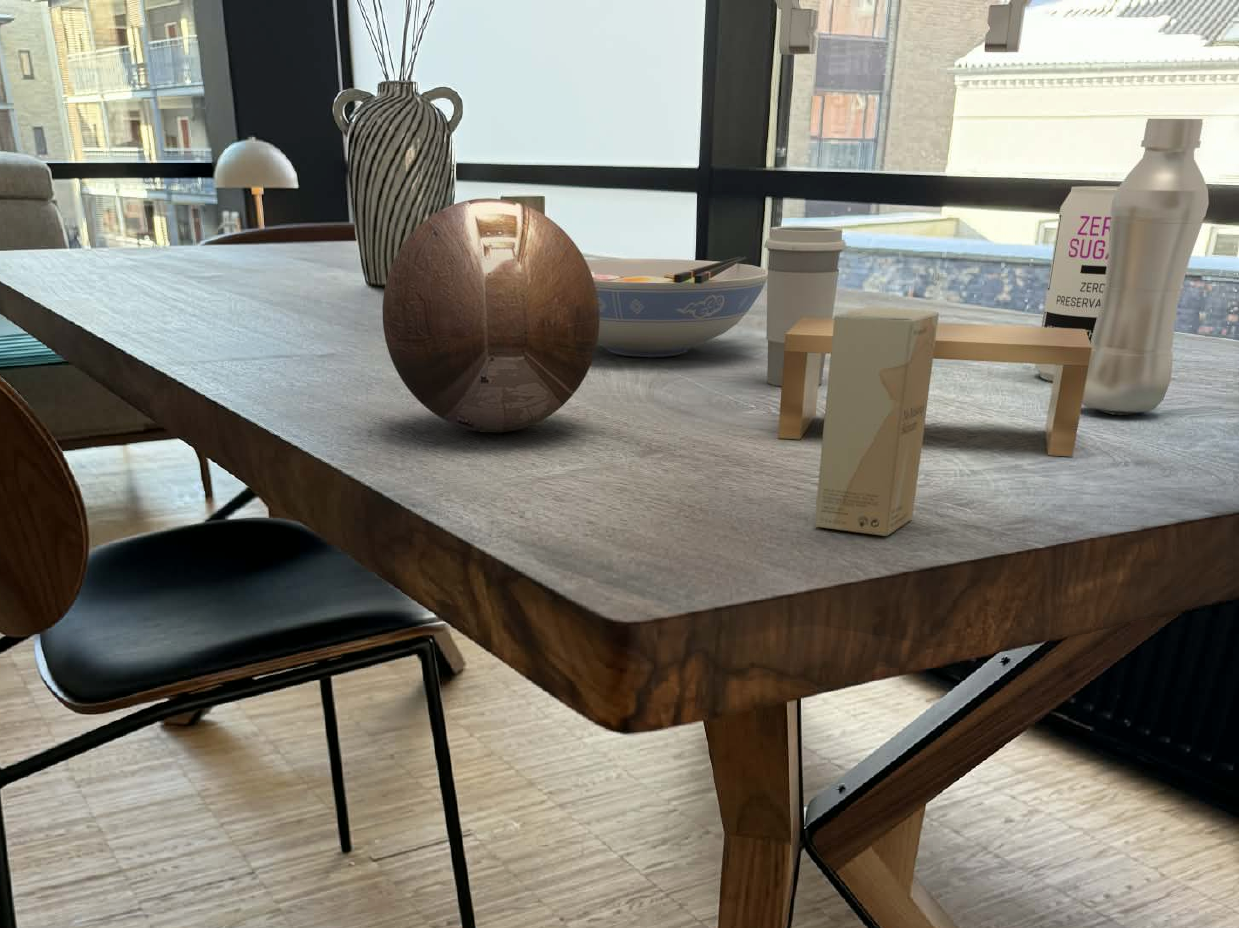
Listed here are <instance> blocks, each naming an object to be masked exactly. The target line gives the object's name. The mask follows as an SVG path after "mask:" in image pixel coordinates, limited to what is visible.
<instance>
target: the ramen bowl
mask: <svg viewBox="0 0 1239 928" xmlns="http://www.w3.org/2000/svg"><path fill="white" fill-rule="evenodd" d="M746 259H747V256H744V257H742V256H736V257H733V258H730V259H726V260H722V261H714V260H713V261H712V260H700V259H699V260H695V259H683V258H682V259H681V258H679V259H678V258H594V259H585V261H586V263H587V265H588V267H589V269H590V271H591V274H592V277H593V280H594V283H595V287H596V291H597V296H598V302H599V314H600V324H599V335H598V342H597V344H598V345H601V346H604V348H605V349H606V350H607V351H608V352H610V353H612V354H615V355H619V356H625V357H637V358H638V357H639V358H663V357H664V358H665V357H673V356H679V355H683V354H685V353H686V352H688V351H689V350H690V348H693V347H694V346H698V345H700V344H702V343H706V342H708V341H710V340H713V339H715V338H717V337H719V336H721V335H724V334H725V333H726V332H728V331H729V330H730V329H732V328H734V327H735V326H736V325H737V324H739V322H740V321H741V320H742V319H743V318H744V316H745V315H747V313H748V312H749V311H750V309H751V308H752V306H753V304H754V303H755V302H756V300H757V299H758V297H759V296H760V295H761V292H762V291H763V288H764V287H765V285H766V284H767V270H768V268H763V267H761V266H756V265H752V264H744V263H740V262H742V261H744V260H746Z"/></svg>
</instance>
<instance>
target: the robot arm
mask: <svg viewBox="0 0 1239 928" xmlns="http://www.w3.org/2000/svg"><path fill="white" fill-rule="evenodd" d="M1032 1H1033V0H1009V2H1008V4H990V5H989V6H988V7H989V10H988V16H987V24H988V27H989V29H988V31H987V32H986V33H985V39H984V52H985V53H1005V54H1006V53H1019V52H1020V47H1021V41H1022V34H1023V27H1024V19H1025V13H1026V8H1027V7H1029V6H1030V4H1031V3H1032ZM774 2H775V4H776V6H777V8H778V9H779V10H780V19H779V21H780V22H779V36H778V49H779V50H778V51H779V54H780V55H788V56H789V55H795V56H797V55H815V53H816V49H817V40H818V39H817V37H816V35H815V32H816V30H817V29H818V24H819V10H815V9H814V8H802V7H801V5H800V2H799V0H774Z"/></svg>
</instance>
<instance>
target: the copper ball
mask: <svg viewBox="0 0 1239 928" xmlns="http://www.w3.org/2000/svg"><path fill="white" fill-rule="evenodd" d="M396 253H397V254H396V256H395V257H394V259H393V261H392V264H391V267H390V269H389V272H388V274H387V277H386V281H385V286H384V291H383V297H382V327H383V335H384V339H385V343H386V347H387V352H388V355H389V357H390V359H391V362H392V364H393V366H394V368H395V370H396V372H397V374H398V377H400V379H401V381H402V383H403V384H404V386H405V387H406V388H407V390H408V391H409V392H410V393H411V394H412V395H413V396H414V398H415V399H416V400H417V401H418V402H419V403H421V405H422V406H424V408H426V409H427V410H429V411H430V412H431V413H433V414H434V415H435V416H437V417H439V418H440V419H442V420H443V421H446V422H448V423H449V424H452V425H453V426H456V427H459V428H462V429H466V430H469V431H475V432H480V433H490V434H491V433H492V434H493V433H494V434H496V433H497V434H498V433H506V432H507V433H508V432H514V431H519V430H522V429H526V428H528V427H531V426H533V425H536V424H538V423H539V422H542V421H544V420H545V419H547V418H549V417H550V416H552V415H553V414H554V413H556V412H557V411H558V410H559V409H561V408H562V407H563V406H564V405H565V404H566V403H567V402H568V401H569V400H570V399H571V398H572V397H573V396H574V394H575V393H576V392H577V390H578V389H579V387H580V386H581V385H582V383H583V382H584V379H585V378H586V376H587V374H588V373H589V369H590V368H591V365H592V363H593V360H594V357H595V354H596V350H597V345H598V343H597V342H598V335H599V324H600V314H599V302H598V296H597V291H596V287H595V283H594V280H593V277H592V274H591V271H590V269H589V267H588V265H587V263H586V261H585V260H586V259H585V256H584V255H583V254H582V252H581V250H580V248H579V247H578V246H577V244H576V243H575V242H574V240H573V239H572V238H571V237H570V236H569V235H568V233H567V232H566V231H565V230H564V229H563V228H562V227H560V225H558V224H557V223H556V222H555V221H553V220H552V219H551V218H550V217H548V216H547V215H545V214H544V213H542V212H540V211H538V210H536V209H534V208H533V207H530V206H529V205H525V204H522V203H520V202H516V201H512V200H508V199H503V198H493V197H492V198H491V197H489V198H484V197H483V198H475V199H473V198H472V199H468V200H463V201H460V202H457V203H454V204H451V205H449V206H447V207H444V208H442V209H440V210H439V211H437V212H435V213H433V214H432V215H431V216H429V217H428V218H427V219H425V220H424V221H422V222H421V223H420V224H419V225H418V226H417V227H416V228H415V229H414V230H413V231H412V232H411V233H410V234H409V236H408V237H407V239H406V240H405V241H404V242H403V244H402V245H401V247H400V248H399V250H398V252H396Z"/></svg>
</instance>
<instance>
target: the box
mask: <svg viewBox="0 0 1239 928" xmlns="http://www.w3.org/2000/svg"><path fill="white" fill-rule="evenodd" d="M939 315H940V313H939V312H938V311H935V310H927V309H916V308H902V307H889V306H877V305H869V306H867V305H866V306H864V307H860V308H856V309H855V308H854V309H850V310H848V311H846V312H843V313H839V314H835V315H834V318H833V319H834V327H833V337H832V346H831V354H830V357H829V367H828V369H829V370H828V377H827V388H826V397H825V409H824V419H823V420H824V421H823V422H824V423H823V428H822V429H823V430H822V439H821V440H822V442H821V450H820V452H821V453H820V462H819V470H818V471H819V473H818V485H817V493H816V494H817V495H816V505H815V514H814V515H815V516H814V523H813V524H814V527H815V528H816V527H817V528H825V529H829V530H830V529H832V530H837V531H845V532H852V533H853V532H854V533H858V534H867V535H874V536H882V537H887V536H889V535H891V534H892V533H894V532H895V531H896V530H898V529H899V528H901V527H903V526H904V525H906V524H907V523H909V522H910V521H911V520H912V519H913V515H914V507H915V500H916V493H917V485H918V478H919V471H920V464H921V457H922V449H923V448H922V447H923V441H924V432H925V423H926V417H927V410H928V409H927V408H928V401H929V395H930V394H929V393H930V384H931V378H932V369H933V363H934V359H933V355H934V347H935V339H936V331H937V324H938V323H939V318H940V316H939Z"/></svg>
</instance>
